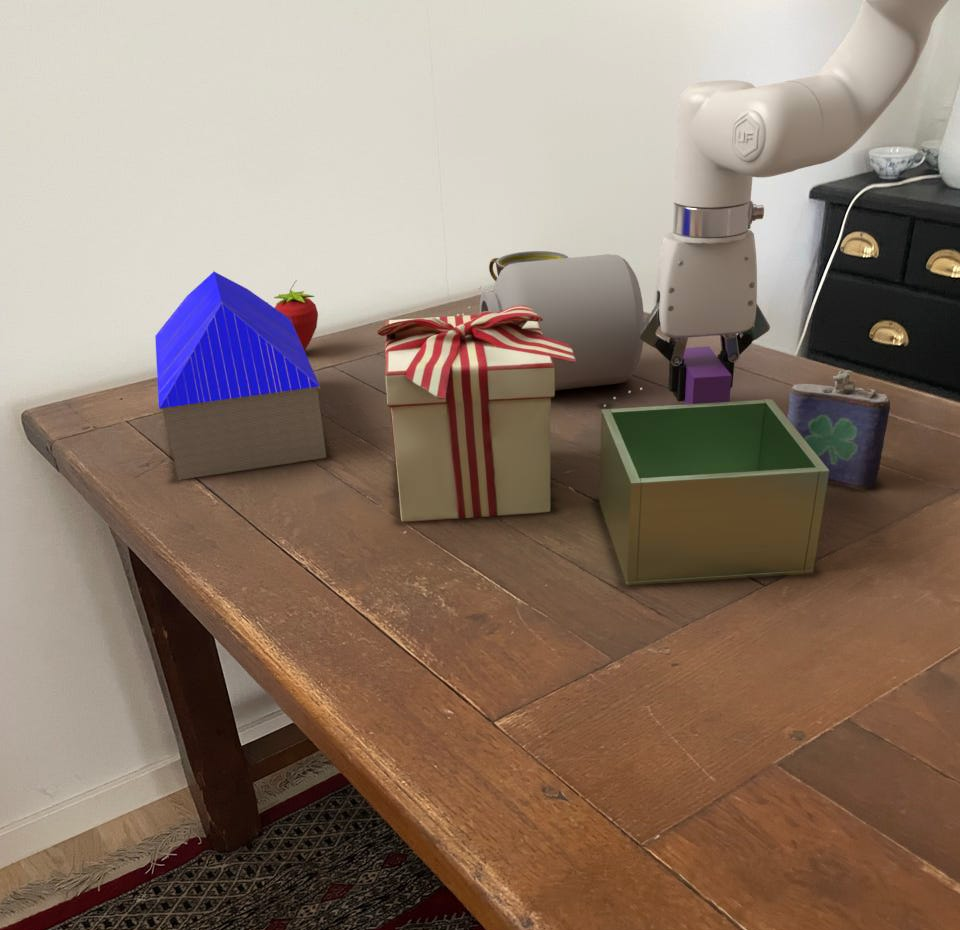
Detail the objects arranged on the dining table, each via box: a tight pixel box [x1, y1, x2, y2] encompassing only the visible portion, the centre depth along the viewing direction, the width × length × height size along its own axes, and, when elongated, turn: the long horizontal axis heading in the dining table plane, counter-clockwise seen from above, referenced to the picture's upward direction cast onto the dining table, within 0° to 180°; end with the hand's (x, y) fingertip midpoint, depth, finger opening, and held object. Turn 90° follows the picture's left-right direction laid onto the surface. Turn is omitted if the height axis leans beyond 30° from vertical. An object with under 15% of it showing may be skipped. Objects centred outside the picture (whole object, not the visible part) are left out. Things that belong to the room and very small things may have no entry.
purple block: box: [682, 346, 732, 405], centre depth 112 cm, size 4×10×4 cm, turn 3°
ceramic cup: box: [488, 250, 571, 282], centre depth 140 cm, size 13×10×10 cm
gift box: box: [376, 305, 576, 523], centre depth 96 cm, size 17×18×17 cm
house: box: [154, 271, 327, 481], centre depth 113 cm, size 25×16×16 cm, turn 16°
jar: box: [456, 254, 645, 408], centre depth 120 cm, size 19×15×25 cm
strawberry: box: [273, 279, 319, 352], centre depth 136 cm, size 6×8×10 cm
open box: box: [598, 398, 829, 586], centre depth 89 cm, size 16×16×10 cm
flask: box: [786, 370, 891, 491], centre depth 97 cm, size 9×3×11 cm, turn 58°
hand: (699, 394), depth 113 cm, fingers closed on purple block, 4 cm apart
